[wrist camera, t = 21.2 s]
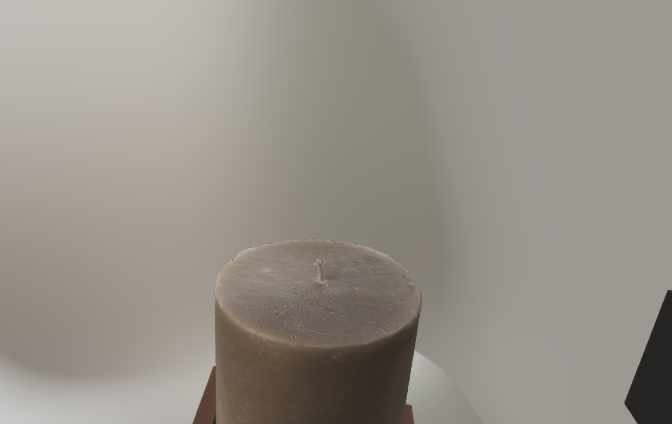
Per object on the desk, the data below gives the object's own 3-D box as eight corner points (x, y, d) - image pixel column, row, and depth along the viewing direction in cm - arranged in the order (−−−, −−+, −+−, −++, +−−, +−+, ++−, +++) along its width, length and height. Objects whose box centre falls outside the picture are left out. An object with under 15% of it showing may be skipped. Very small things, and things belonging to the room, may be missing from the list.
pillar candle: (339, 619, 24) (375, 354, 18) (177, 514, 28) (163, 269, 22) (413, 465, 32) (456, 248, 26) (280, 401, 36) (290, 199, 30)
